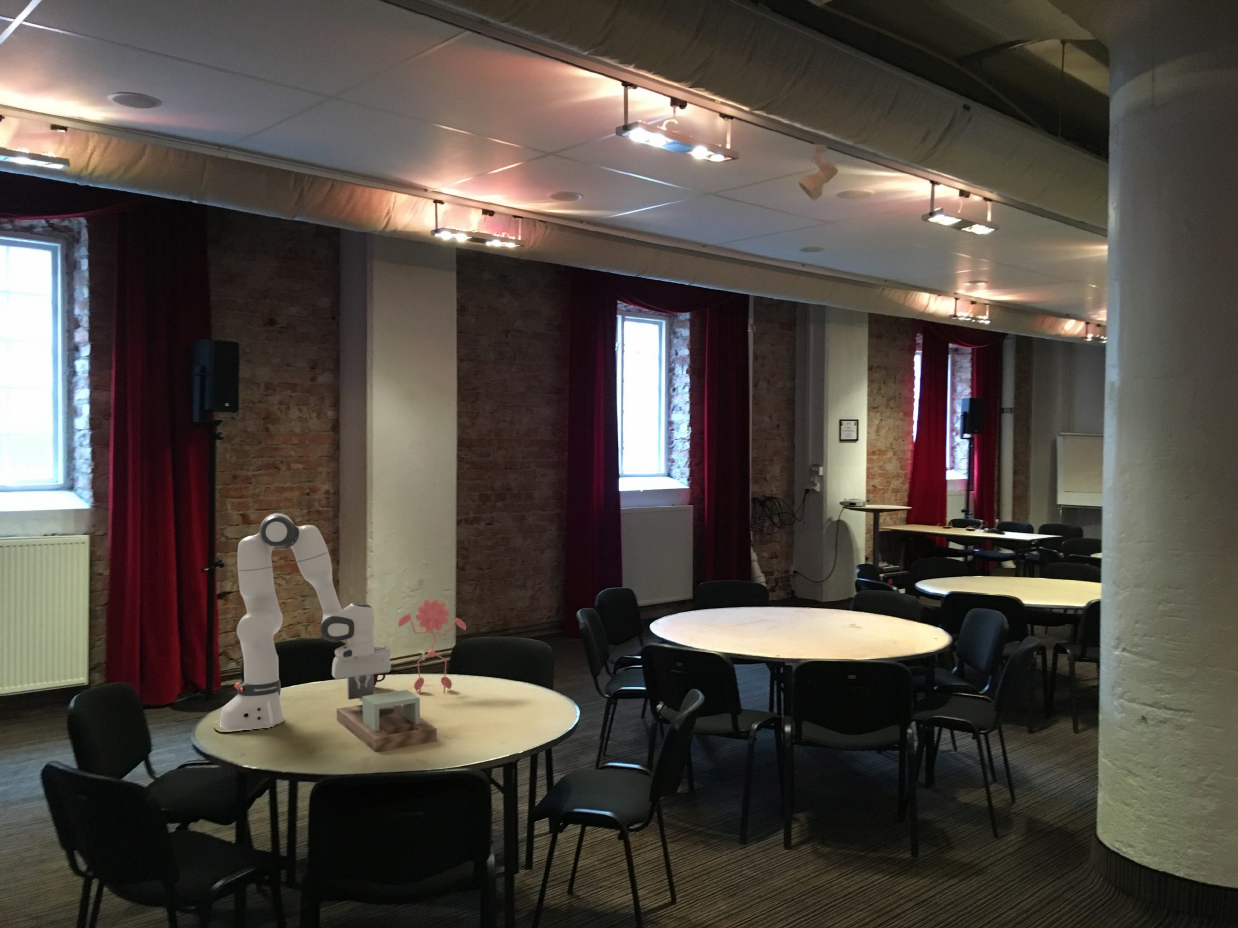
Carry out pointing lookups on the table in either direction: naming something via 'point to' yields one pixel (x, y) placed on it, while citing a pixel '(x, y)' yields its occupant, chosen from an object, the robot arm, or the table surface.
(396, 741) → the walnut deck
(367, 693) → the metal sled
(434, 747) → the table surface
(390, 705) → the tunnel
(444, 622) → the pink flower toy
